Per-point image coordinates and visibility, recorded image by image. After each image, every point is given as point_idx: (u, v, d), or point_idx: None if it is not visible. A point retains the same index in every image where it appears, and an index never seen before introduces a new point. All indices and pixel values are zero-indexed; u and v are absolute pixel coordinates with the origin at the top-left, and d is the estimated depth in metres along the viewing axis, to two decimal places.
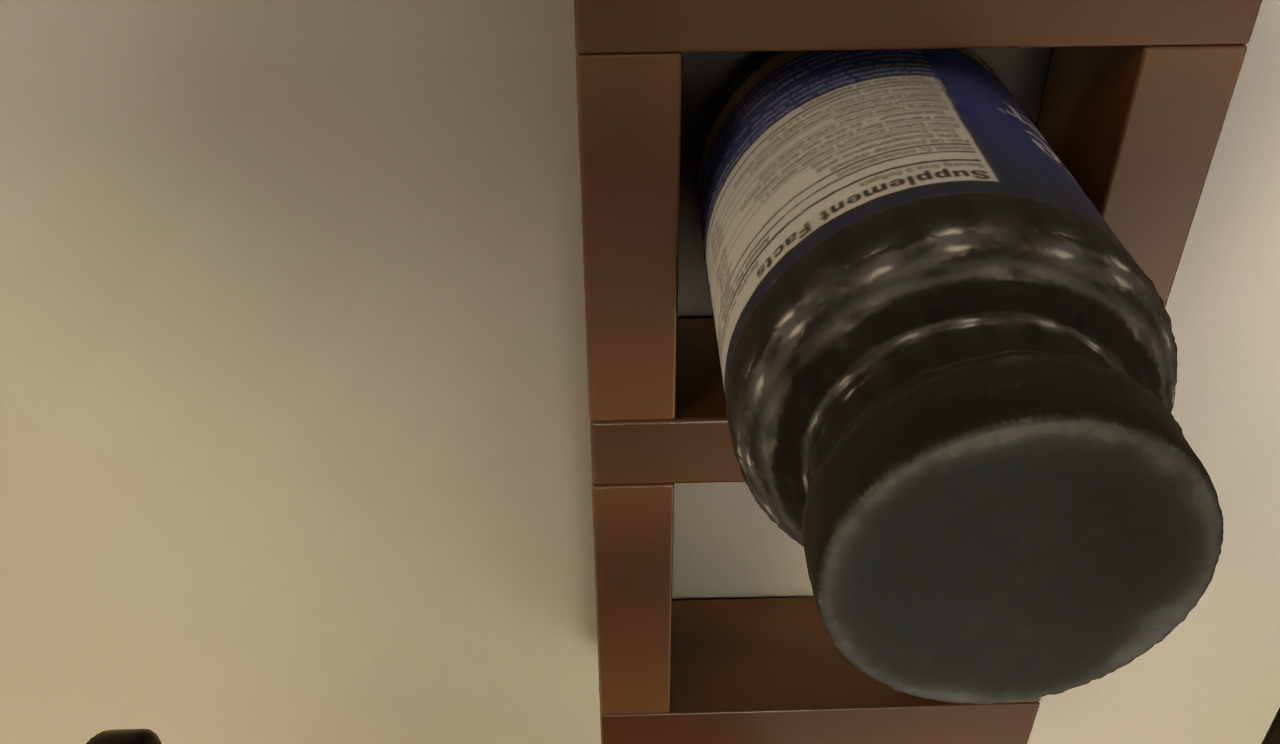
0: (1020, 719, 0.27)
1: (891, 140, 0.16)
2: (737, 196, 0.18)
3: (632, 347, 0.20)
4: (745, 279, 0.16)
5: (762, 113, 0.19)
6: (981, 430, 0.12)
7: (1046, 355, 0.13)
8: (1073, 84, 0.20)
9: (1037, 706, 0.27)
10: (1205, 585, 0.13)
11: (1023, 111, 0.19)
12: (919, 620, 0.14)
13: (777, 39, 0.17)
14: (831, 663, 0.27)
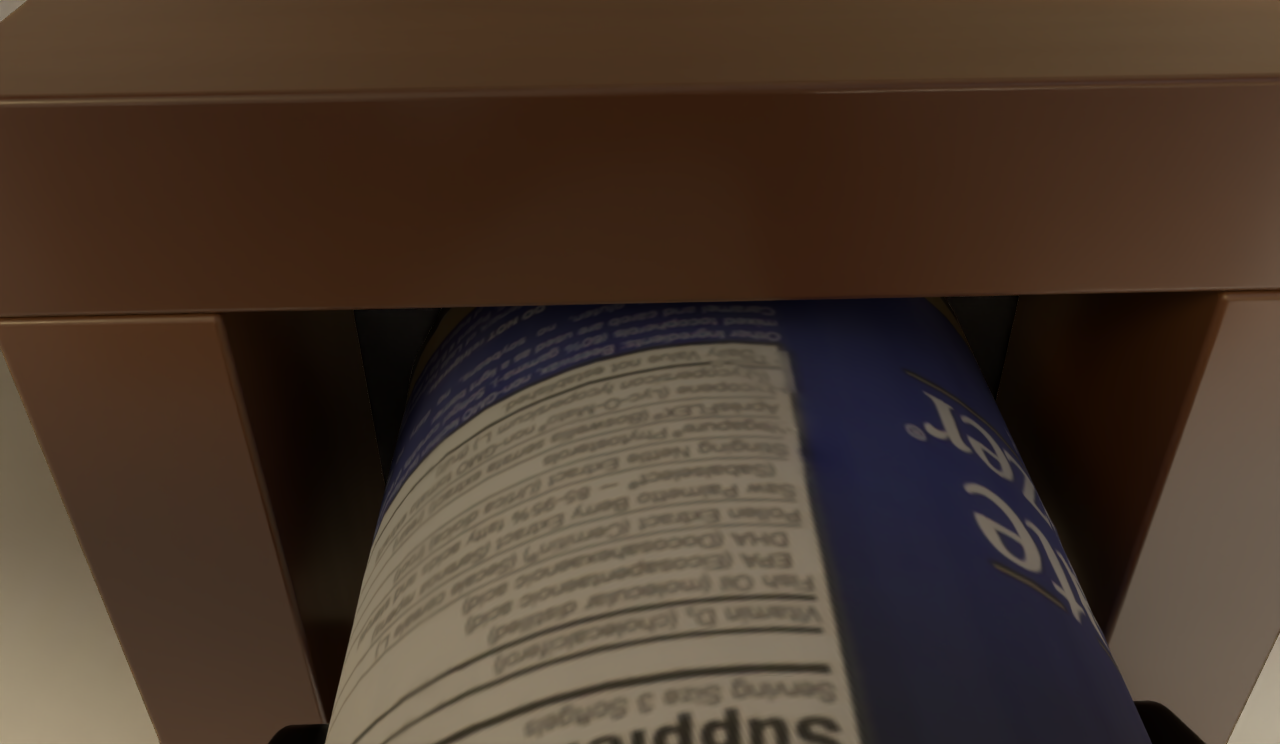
0: None
1: (633, 571, 0.07)
2: (369, 594, 0.09)
3: None
4: None
5: (453, 390, 0.09)
6: None
7: None
8: (1070, 301, 0.11)
9: None
10: None
11: (971, 383, 0.10)
12: None
13: (422, 287, 0.08)
14: None
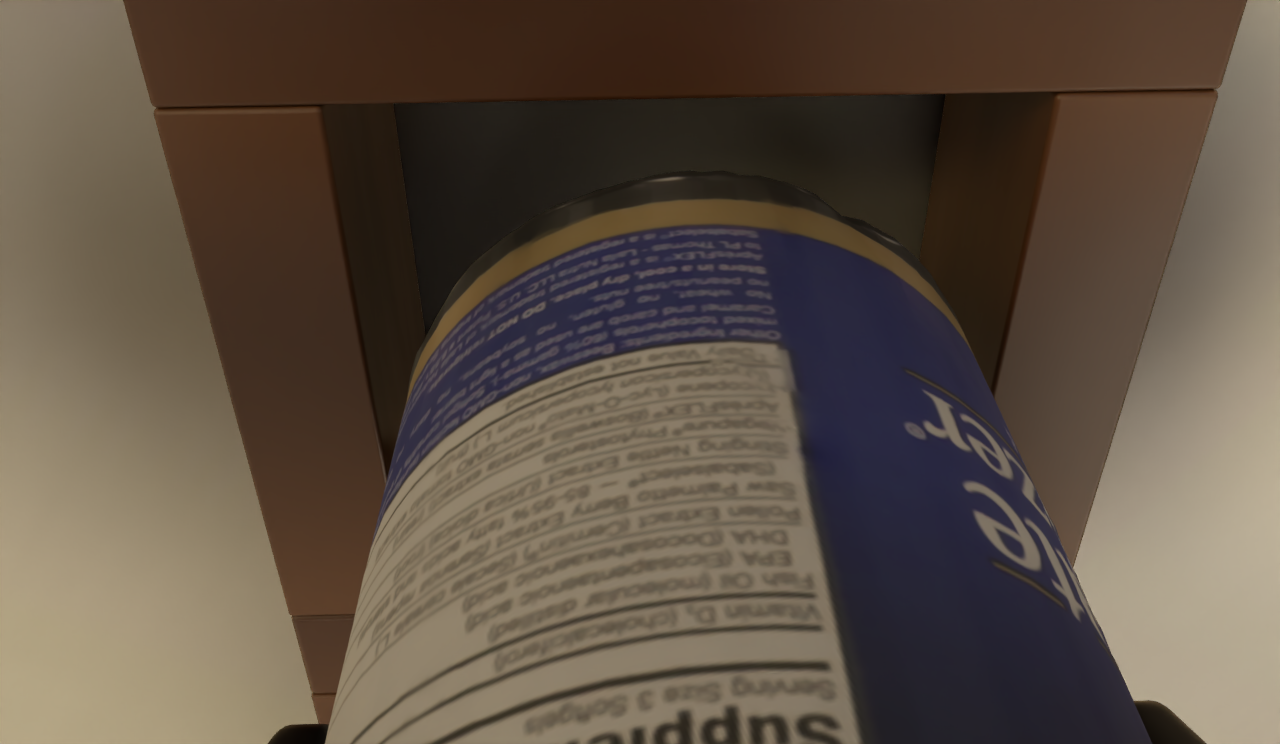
0: None
1: (633, 569, 0.07)
2: (367, 593, 0.09)
3: (330, 521, 0.14)
4: None
5: (453, 388, 0.09)
6: None
7: None
8: (968, 139, 0.14)
9: None
10: None
11: (970, 381, 0.10)
12: None
13: (469, 84, 0.11)
14: None
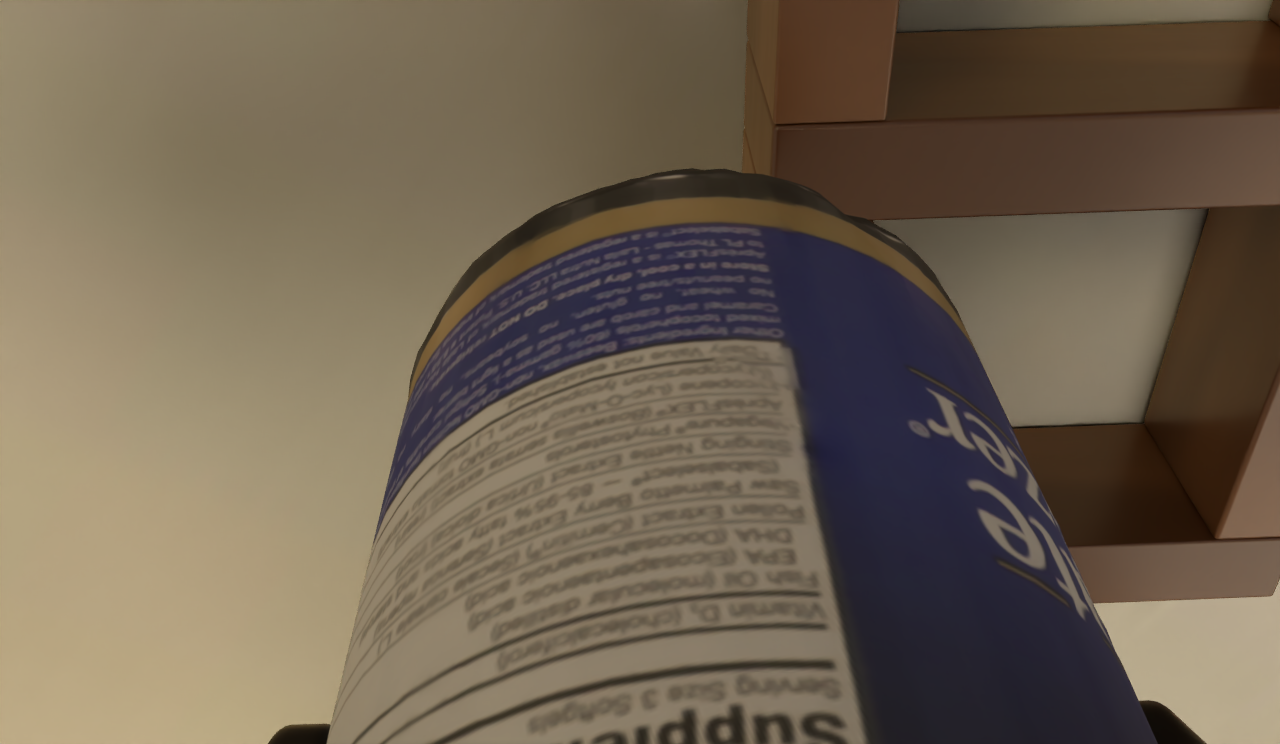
0: (1270, 560, 0.22)
1: (634, 566, 0.07)
2: (371, 592, 0.09)
3: (841, 4, 0.15)
4: None
5: (455, 387, 0.09)
6: None
7: None
8: None
9: None
10: None
11: (974, 380, 0.10)
12: None
13: None
14: None
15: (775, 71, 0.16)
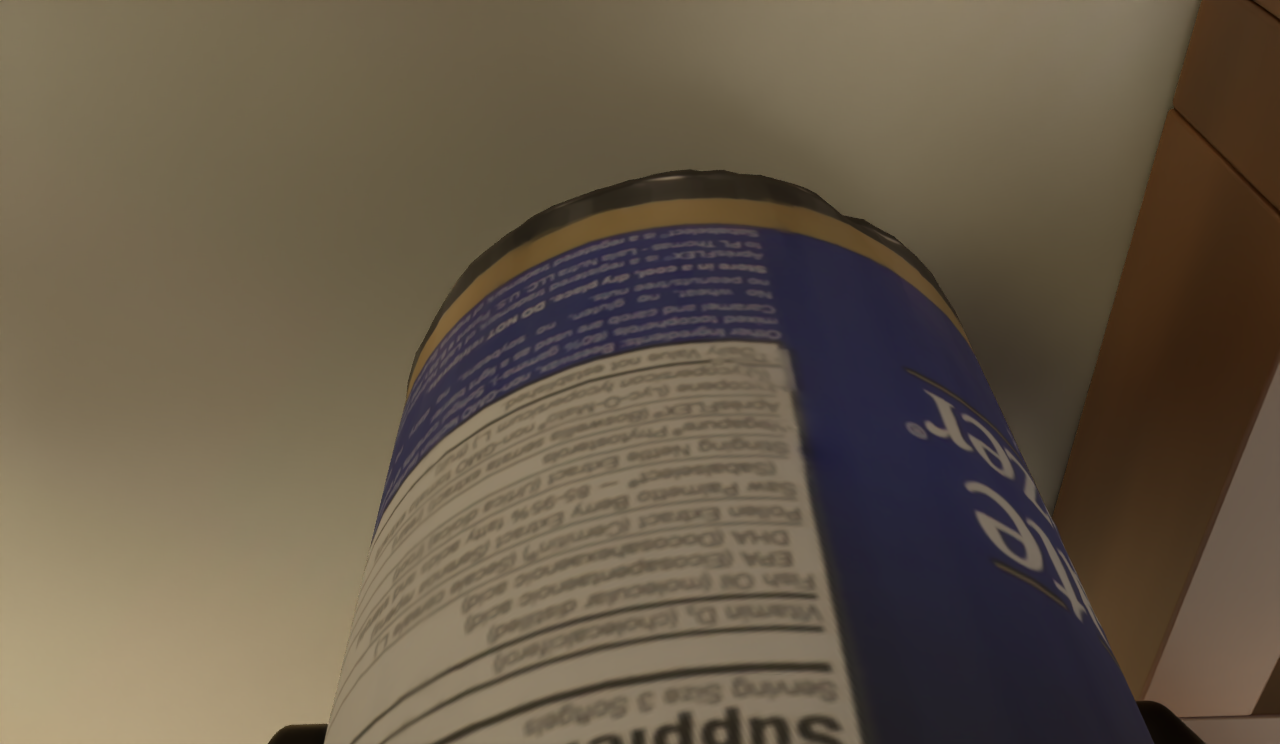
0: None
1: (633, 570, 0.07)
2: (368, 595, 0.09)
3: None
4: None
5: (452, 387, 0.09)
6: None
7: None
8: None
9: None
10: None
11: (971, 381, 0.10)
12: None
13: None
14: None
15: None
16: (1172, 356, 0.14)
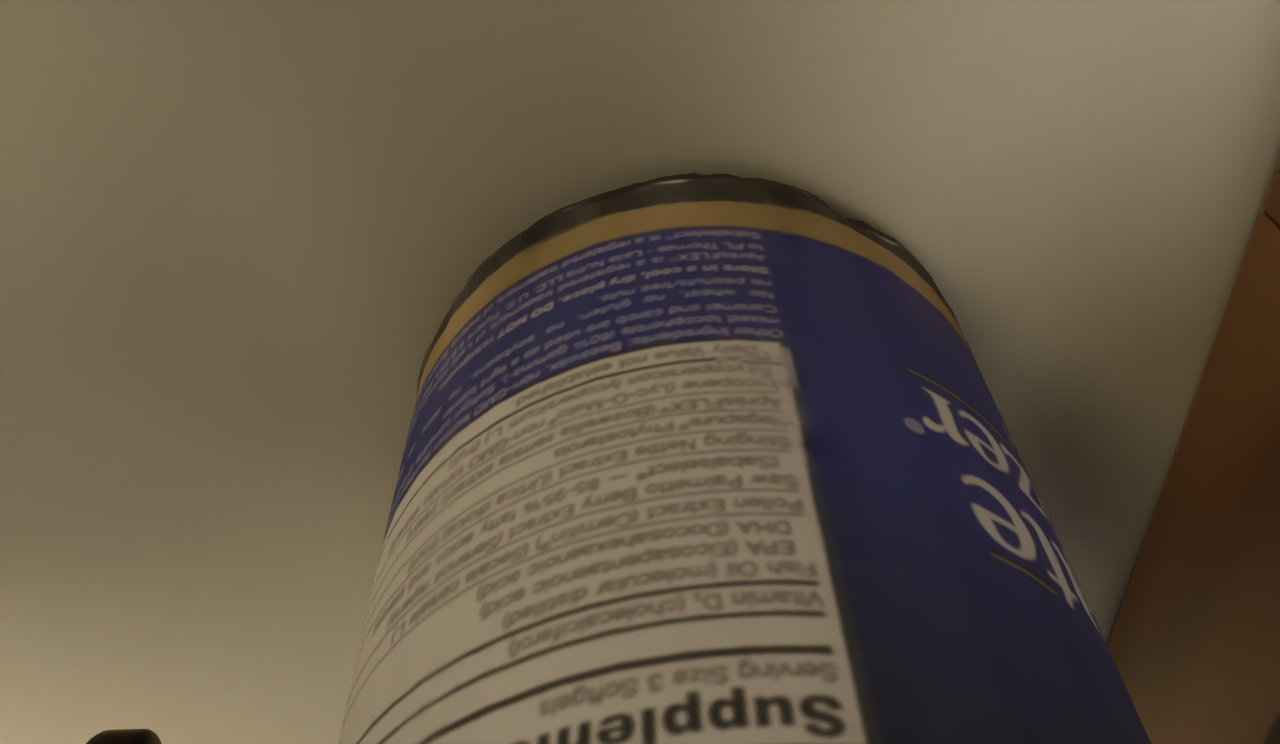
0: None
1: (641, 557, 0.07)
2: (383, 585, 0.09)
3: None
4: None
5: (463, 386, 0.10)
6: None
7: None
8: None
9: None
10: None
11: (968, 379, 0.10)
12: None
13: None
14: None
15: None
16: (1264, 497, 0.12)
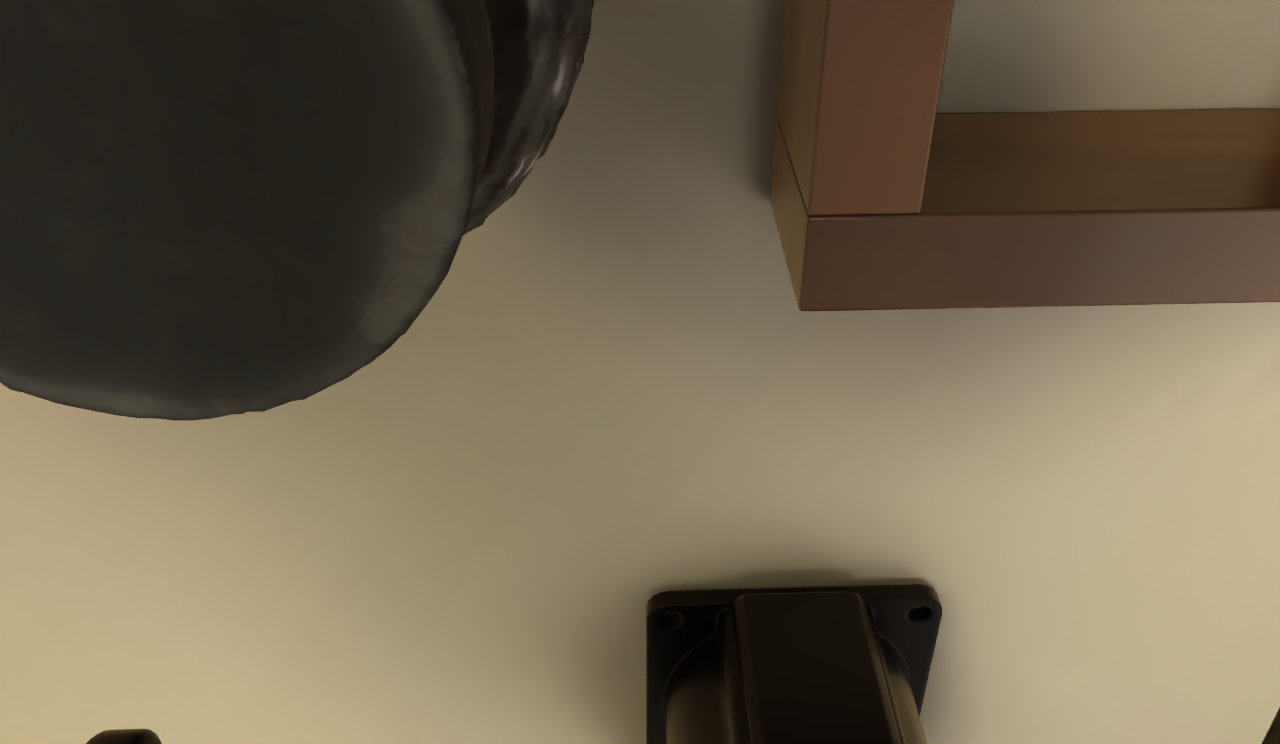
0: None
1: None
2: None
3: None
4: None
5: None
6: None
7: None
8: None
9: None
10: (461, 149, 0.07)
11: None
12: None
13: None
14: (1162, 168, 0.17)
15: None
16: None
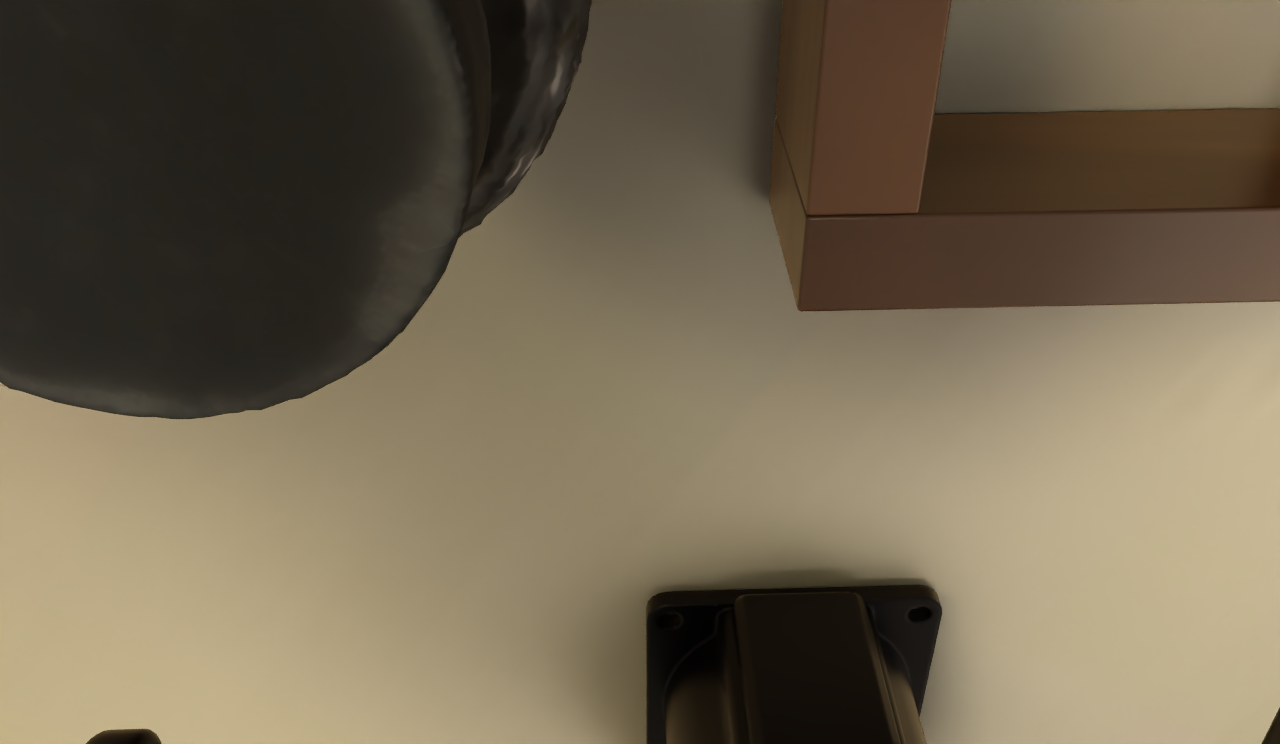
0: None
1: None
2: None
3: None
4: None
5: None
6: None
7: None
8: None
9: None
10: (458, 147, 0.07)
11: None
12: None
13: None
14: (1160, 167, 0.17)
15: None
16: None
